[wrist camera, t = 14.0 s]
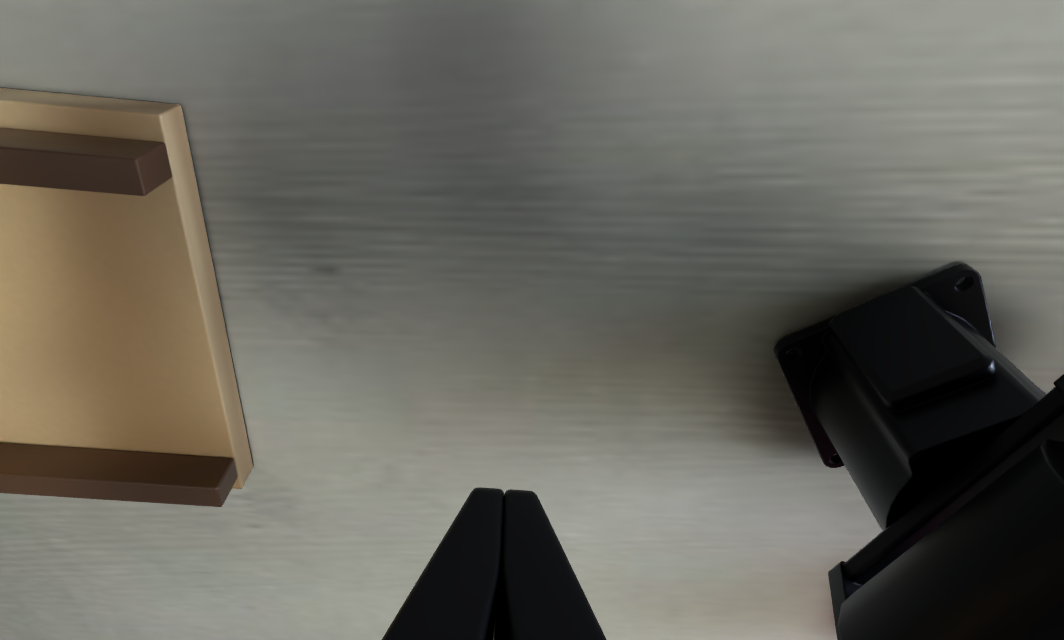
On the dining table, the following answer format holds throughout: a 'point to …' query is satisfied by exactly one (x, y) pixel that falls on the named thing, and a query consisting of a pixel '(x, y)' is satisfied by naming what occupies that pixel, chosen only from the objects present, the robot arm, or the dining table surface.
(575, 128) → the dining table surface
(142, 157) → the maple track
